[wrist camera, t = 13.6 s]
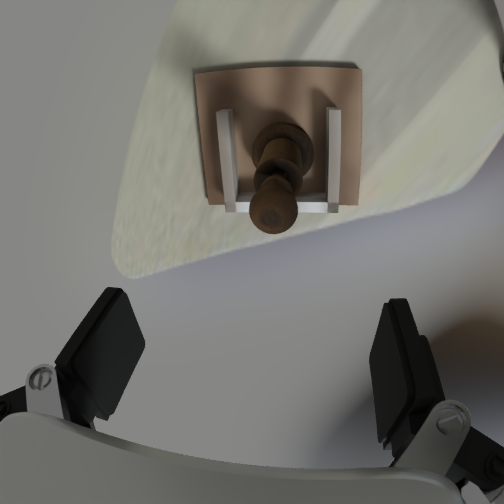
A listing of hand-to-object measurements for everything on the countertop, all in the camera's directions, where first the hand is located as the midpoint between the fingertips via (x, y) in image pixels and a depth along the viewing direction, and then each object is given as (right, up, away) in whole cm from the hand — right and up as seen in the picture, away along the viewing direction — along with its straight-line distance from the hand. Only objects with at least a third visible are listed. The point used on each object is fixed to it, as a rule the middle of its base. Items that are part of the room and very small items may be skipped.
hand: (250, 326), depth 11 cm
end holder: (+3, +16, +23) cm, 28 cm away
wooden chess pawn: (+4, +14, +23) cm, 27 cm away
